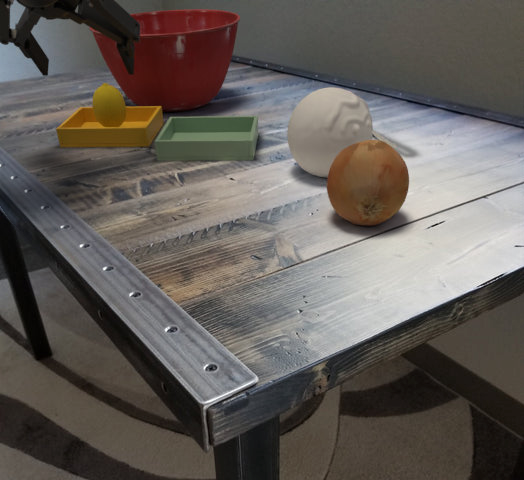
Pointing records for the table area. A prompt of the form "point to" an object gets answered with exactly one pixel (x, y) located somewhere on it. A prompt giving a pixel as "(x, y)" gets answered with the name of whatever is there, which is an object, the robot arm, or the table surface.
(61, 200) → the table surface
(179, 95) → the mixing bowl
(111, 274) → the table surface
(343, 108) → the decorative ball
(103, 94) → the lemon
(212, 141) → the green tray
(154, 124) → the yellow tray
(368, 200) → the onion
